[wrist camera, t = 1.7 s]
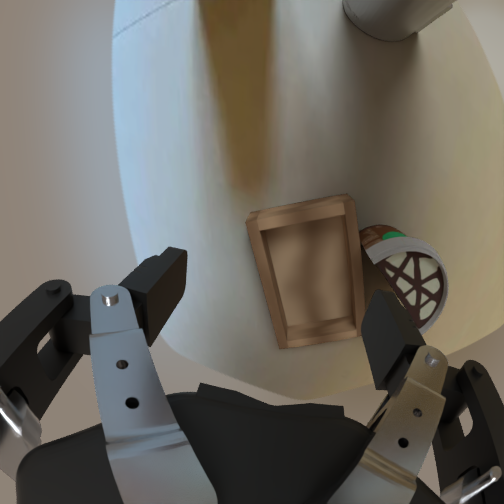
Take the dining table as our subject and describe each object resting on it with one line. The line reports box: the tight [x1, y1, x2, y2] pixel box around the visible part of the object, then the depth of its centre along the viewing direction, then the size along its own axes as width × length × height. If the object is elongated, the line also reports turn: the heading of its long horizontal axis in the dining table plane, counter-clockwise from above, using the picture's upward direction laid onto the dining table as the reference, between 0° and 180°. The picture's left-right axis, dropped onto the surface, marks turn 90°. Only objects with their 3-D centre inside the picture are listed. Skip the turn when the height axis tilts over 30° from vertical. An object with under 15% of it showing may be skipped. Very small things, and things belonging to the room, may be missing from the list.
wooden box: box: [245, 194, 365, 349], centre depth 32 cm, size 11×17×4 cm, turn 15°
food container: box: [359, 225, 448, 335], centre depth 27 cm, size 12×6×10 cm, turn 43°
